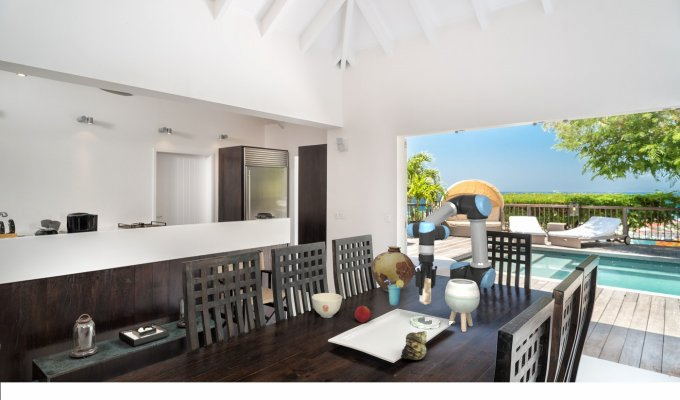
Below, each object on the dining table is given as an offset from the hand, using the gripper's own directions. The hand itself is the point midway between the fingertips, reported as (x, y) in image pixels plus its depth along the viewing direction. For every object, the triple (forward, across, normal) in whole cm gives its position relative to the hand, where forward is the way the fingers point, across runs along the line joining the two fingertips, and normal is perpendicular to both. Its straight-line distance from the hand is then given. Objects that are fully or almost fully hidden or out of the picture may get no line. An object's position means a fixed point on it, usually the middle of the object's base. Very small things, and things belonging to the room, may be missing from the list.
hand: (425, 300), depth 193 cm
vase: (+12, -25, -57) cm, 64 cm away
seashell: (+12, +32, +27) cm, 43 cm away
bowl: (+12, +36, -35) cm, 52 cm away
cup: (+12, -8, -35) cm, 38 cm away
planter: (+12, -12, +12) cm, 21 cm away
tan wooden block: (+1, 0, 0) cm, 1 cm away
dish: (+12, 0, 0) cm, 12 cm away
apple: (+12, +25, -18) cm, 33 cm away
